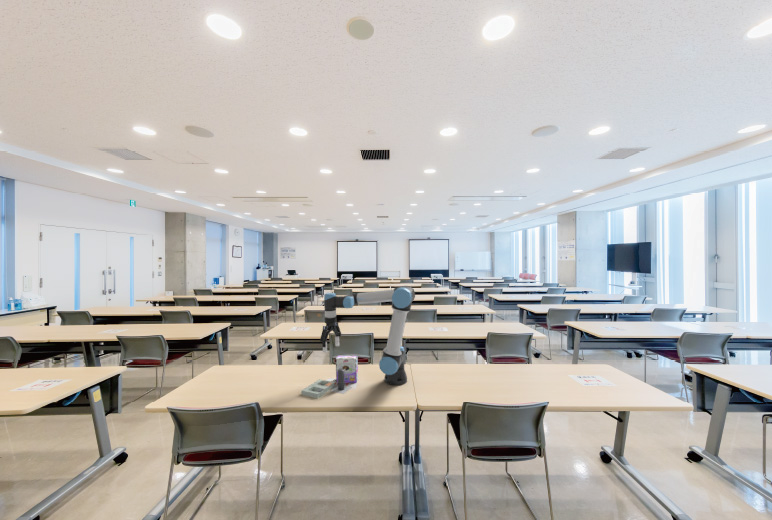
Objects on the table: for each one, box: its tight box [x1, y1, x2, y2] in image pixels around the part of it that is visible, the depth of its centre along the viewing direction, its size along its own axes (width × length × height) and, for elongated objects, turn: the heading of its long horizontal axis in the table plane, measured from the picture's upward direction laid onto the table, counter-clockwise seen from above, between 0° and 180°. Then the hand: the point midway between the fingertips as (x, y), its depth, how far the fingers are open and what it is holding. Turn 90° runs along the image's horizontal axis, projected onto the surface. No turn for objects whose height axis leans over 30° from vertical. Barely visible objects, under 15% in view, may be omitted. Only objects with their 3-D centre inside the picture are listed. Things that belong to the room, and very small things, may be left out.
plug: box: [337, 369, 346, 390], centre depth 197 cm, size 4×4×12 cm
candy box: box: [335, 355, 359, 384], centre depth 210 cm, size 14×6×16 cm, turn 84°
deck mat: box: [330, 385, 353, 395], centre depth 197 cm, size 10×10×1 cm
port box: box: [300, 379, 336, 399], centre depth 196 cm, size 12×18×3 cm, turn 156°
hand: (331, 349), depth 207 cm, fingers open, 13 cm apart
